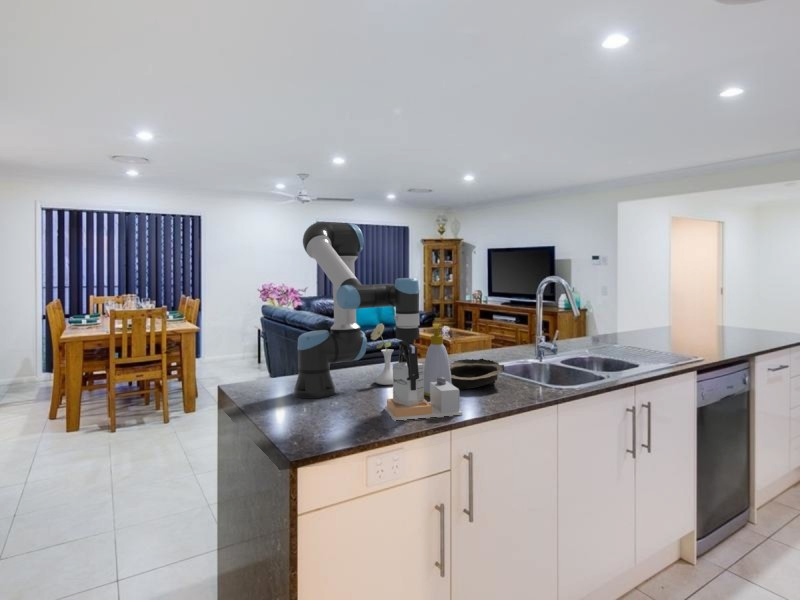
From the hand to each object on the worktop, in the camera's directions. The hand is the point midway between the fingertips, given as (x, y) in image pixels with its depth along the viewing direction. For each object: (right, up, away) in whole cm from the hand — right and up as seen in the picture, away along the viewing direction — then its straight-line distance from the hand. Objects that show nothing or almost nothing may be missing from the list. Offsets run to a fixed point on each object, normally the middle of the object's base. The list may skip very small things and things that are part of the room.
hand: (408, 395), depth 152 cm
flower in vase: (-8, -4, +40) cm, 41 cm away
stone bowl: (+26, -3, +35) cm, 44 cm away
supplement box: (0, -2, 0) cm, 2 cm away
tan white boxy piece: (+5, -5, +1) cm, 7 cm away
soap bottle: (+11, -4, +23) cm, 26 cm away
